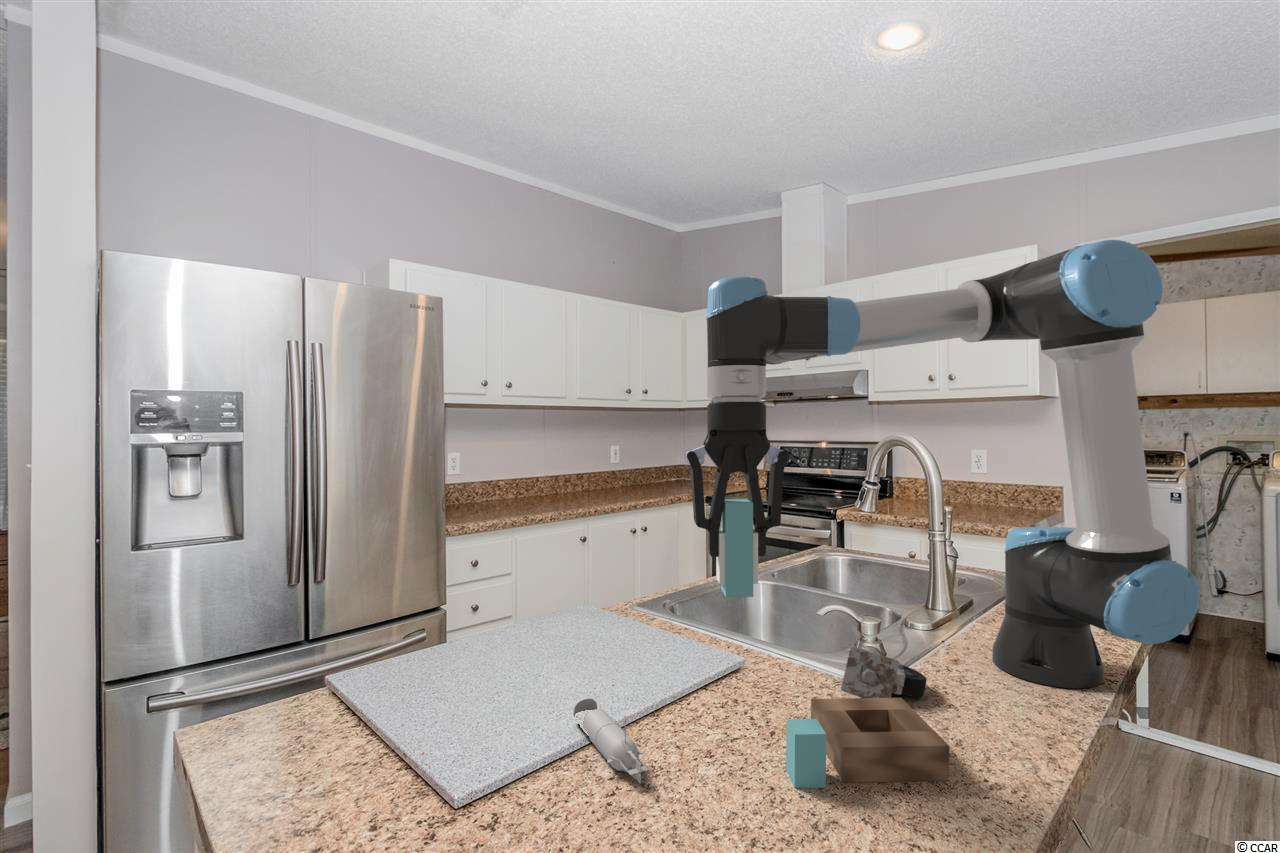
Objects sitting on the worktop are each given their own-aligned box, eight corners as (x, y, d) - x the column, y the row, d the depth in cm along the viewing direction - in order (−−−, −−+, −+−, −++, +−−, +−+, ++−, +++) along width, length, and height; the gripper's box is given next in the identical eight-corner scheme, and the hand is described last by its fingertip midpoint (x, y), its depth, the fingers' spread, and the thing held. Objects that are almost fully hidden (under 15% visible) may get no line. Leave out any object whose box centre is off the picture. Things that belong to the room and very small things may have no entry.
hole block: (901, 727, 83) (901, 697, 83) (948, 780, 71) (949, 745, 71) (810, 729, 83) (811, 699, 83) (843, 782, 71) (843, 747, 71)
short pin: (815, 769, 74) (816, 718, 73) (825, 787, 70) (826, 733, 70) (786, 770, 73) (786, 719, 73) (794, 788, 70) (794, 734, 70)
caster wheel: (917, 701, 97) (923, 721, 87) (842, 675, 101) (840, 691, 91) (927, 658, 97) (934, 673, 88) (852, 633, 101) (851, 645, 92)
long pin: (747, 589, 84) (747, 499, 84) (753, 596, 80) (753, 502, 80) (721, 589, 84) (721, 499, 84) (725, 597, 80) (725, 503, 80)
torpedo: (563, 723, 85) (563, 675, 85) (596, 715, 87) (596, 668, 87) (621, 795, 69) (621, 736, 69) (659, 784, 71) (659, 726, 71)
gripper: (675, 400, 78) (676, 590, 78) (808, 399, 78) (808, 588, 79) (670, 401, 85) (670, 574, 86) (792, 400, 86) (792, 572, 86)
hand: (736, 580), depth 82 cm, fingers closed on long pin, 3 cm apart
